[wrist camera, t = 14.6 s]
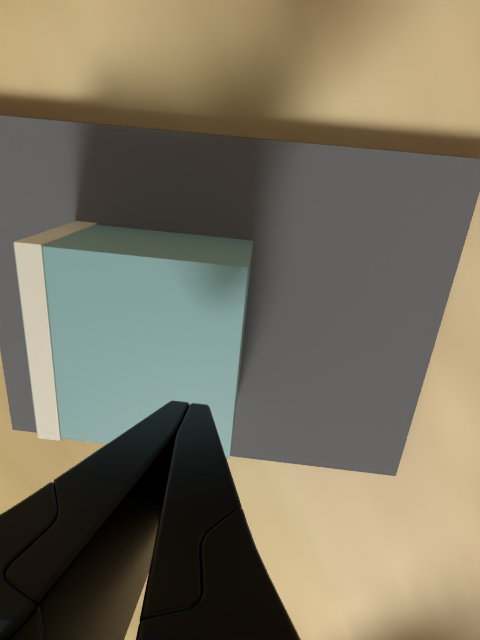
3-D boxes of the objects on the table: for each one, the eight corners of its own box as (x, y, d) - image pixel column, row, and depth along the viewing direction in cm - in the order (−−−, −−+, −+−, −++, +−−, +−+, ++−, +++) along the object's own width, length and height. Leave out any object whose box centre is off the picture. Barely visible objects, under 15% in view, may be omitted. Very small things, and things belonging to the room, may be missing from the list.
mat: (479, 159, 13) (489, 159, 12) (391, 465, 17) (395, 475, 17) (-23, 114, 13) (-37, 112, 13) (20, 421, 18) (12, 429, 17)
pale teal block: (248, 266, 10) (11, 241, 10) (229, 460, 12) (36, 438, 13) (253, 238, 13) (74, 220, 14) (237, 396, 16) (85, 379, 16)
